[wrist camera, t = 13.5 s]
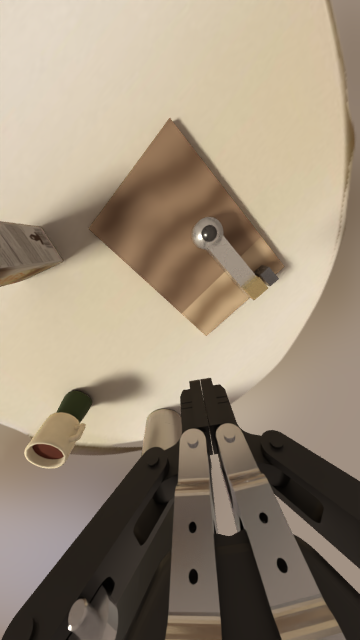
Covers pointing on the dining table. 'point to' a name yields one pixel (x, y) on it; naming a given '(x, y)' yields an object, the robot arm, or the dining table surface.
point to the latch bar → (226, 256)
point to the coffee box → (24, 252)
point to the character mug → (59, 432)
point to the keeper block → (266, 275)
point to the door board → (180, 230)
